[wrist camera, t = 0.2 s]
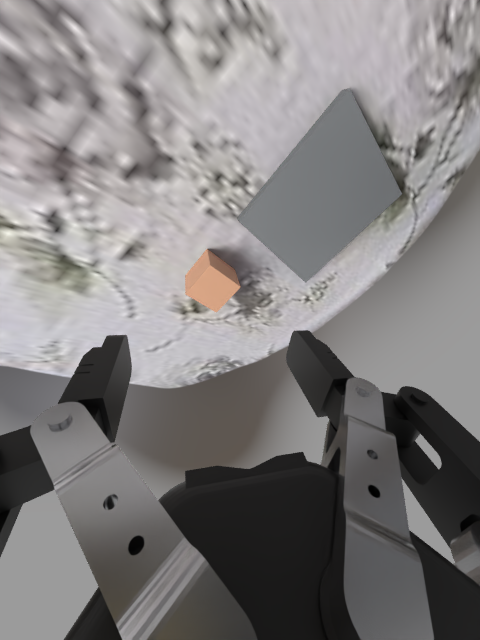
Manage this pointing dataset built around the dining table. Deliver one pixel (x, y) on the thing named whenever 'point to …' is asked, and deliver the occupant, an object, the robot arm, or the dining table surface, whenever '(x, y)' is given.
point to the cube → (211, 281)
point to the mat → (323, 191)
